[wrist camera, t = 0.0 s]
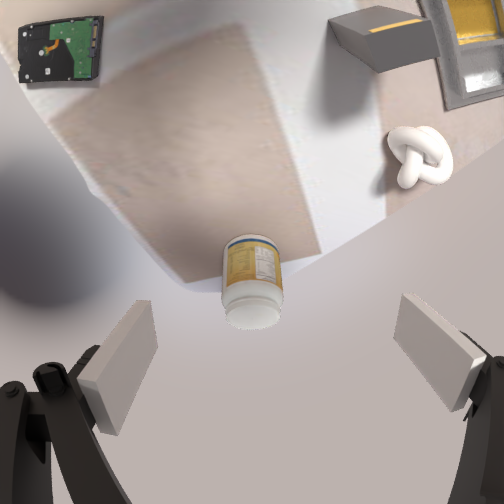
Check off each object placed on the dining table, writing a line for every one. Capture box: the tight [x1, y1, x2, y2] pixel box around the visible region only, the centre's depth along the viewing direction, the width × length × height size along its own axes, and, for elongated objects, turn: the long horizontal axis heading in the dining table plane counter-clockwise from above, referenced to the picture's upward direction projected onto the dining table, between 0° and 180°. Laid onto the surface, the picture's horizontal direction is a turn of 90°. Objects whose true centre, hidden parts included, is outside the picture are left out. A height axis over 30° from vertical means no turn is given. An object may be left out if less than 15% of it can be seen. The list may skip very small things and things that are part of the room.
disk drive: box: [18, 16, 104, 83], centre depth 28 cm, size 10×3×15 cm
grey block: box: [328, 6, 441, 73], centre depth 25 cm, size 4×8×14 cm, turn 119°
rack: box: [419, 0, 504, 110], centre depth 25 cm, size 24×18×4 cm
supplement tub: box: [221, 234, 283, 330], centre depth 61 cm, size 12×12×17 cm
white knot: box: [387, 126, 453, 189], centre depth 41 cm, size 11×12×9 cm
